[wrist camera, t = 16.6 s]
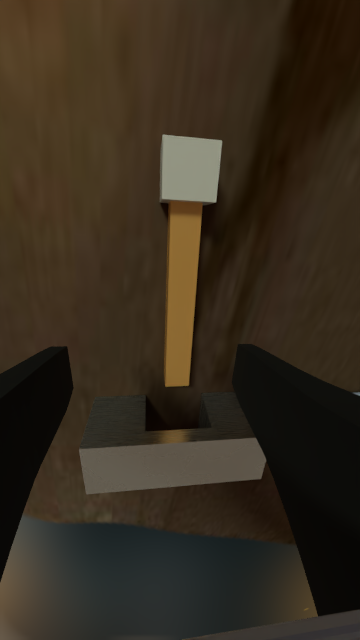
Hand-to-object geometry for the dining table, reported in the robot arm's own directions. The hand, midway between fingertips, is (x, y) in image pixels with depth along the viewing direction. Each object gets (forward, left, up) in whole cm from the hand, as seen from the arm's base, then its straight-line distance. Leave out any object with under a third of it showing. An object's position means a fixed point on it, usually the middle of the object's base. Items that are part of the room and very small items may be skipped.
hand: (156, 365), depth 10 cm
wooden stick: (-2, -1, -10) cm, 10 cm away
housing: (-2, +12, -9) cm, 15 cm away
